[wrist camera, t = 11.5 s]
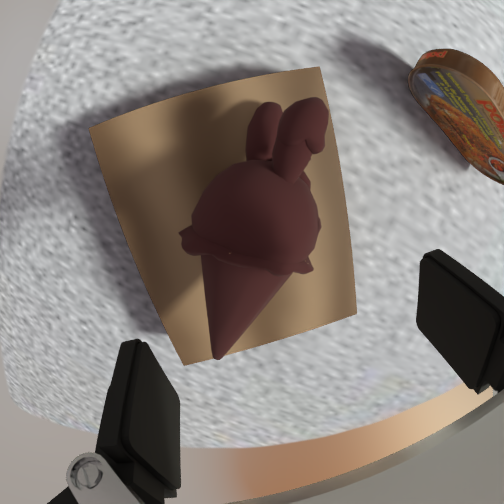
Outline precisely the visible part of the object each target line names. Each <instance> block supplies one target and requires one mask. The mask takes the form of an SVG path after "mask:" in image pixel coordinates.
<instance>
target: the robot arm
mask: <svg viewBox="0 0 504 504" xmlns="http://www.w3.org/2000/svg"><path fill="white" fill-rule="evenodd" d="M416 323H417V326H418V328H419V330H420V331H421V332H422V333H423V334H424V335H425V337H426V338H427V339H428V340H429V341H430V342H431V343H432V345H433V346H434V347H435V348H436V349H437V350H438V352H439V353H440V354H441V355H442V356H443V358H444V359H445V360H446V361H447V362H448V364H449V365H450V366H451V367H452V368H453V370H454V371H455V372H456V373H457V374H458V376H459V377H460V378H461V379H462V381H463V382H464V383H465V384H466V386H467V387H468V388H469V389H474V390H475V392H476V393H477V394H479V393H481V392H483V391H484V390H486V389H487V388H488V387H489V386H491V387H492V388H493V397H492V398H491V399H489V400H488V401H486V402H485V403H483V404H482V405H480V406H479V407H478V408H476V409H474V410H473V411H471V412H469V413H468V414H466V415H465V416H463V417H462V418H460V419H458V420H457V421H455V422H453V423H452V424H450V425H448V426H446V427H445V428H443V429H441V430H439V431H437V432H436V433H434V434H432V435H430V436H428V437H426V438H424V439H422V440H420V441H419V442H417V443H415V444H413V445H410V446H409V447H407V448H404V449H402V450H400V451H398V452H396V453H394V454H391V455H389V456H387V457H385V458H382V459H380V460H378V461H375V462H373V463H370V464H368V465H365V466H363V467H360V468H358V469H355V470H352V471H350V472H347V473H344V474H342V475H339V476H336V477H333V478H330V479H327V480H323V481H321V482H317V483H314V484H310V485H307V486H304V487H300V488H296V489H293V490H289V491H285V492H281V493H277V494H273V495H269V496H264V497H259V498H254V499H249V500H243V501H238V502H232V503H226V504H504V296H502V295H501V294H500V293H499V292H497V291H496V290H495V289H493V288H492V287H491V286H490V285H488V284H487V283H486V282H484V281H483V280H482V279H480V278H479V277H478V276H476V275H475V274H474V273H472V272H471V271H470V270H468V269H467V268H466V267H464V266H463V265H461V264H460V263H459V262H457V261H456V260H454V259H453V258H452V257H450V256H449V255H447V254H446V253H445V252H443V251H442V250H440V249H436V250H433V251H431V252H428V253H425V254H424V256H423V259H422V260H421V261H420V273H419V291H418V305H417V316H416ZM66 480H67V483H68V487H67V488H66V489H64V490H63V491H62V492H61V493H60V494H58V495H57V496H56V497H55V498H53V499H52V500H51V501H50V502H49V503H47V504H164V498H174V497H177V492H176V489H179V488H180V487H181V469H180V400H179V397H178V394H177V393H176V391H175V389H174V388H173V386H172V385H171V383H170V381H169V380H168V378H167V376H166V375H165V373H164V371H163V370H162V368H161V366H160V365H159V363H158V361H157V359H156V358H155V356H154V354H153V352H152V351H151V349H150V347H149V345H148V344H147V343H146V342H142V341H141V340H140V339H134V340H130V341H125V342H122V344H121V346H120V350H119V354H118V357H117V361H116V365H115V369H114V373H113V377H112V381H111V385H110V386H109V389H108V392H107V396H106V401H105V405H104V410H103V414H102V419H101V424H100V429H99V434H98V439H97V444H96V450H95V453H89V452H88V453H84V454H81V455H79V456H78V457H76V458H75V459H74V460H73V461H72V462H71V464H70V465H69V467H68V470H67V473H66Z"/></svg>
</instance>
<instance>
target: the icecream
mask: <svg viewBox="0 0 504 504" xmlns="http://www.w3.org/2000/svg"><path fill="white" fill-rule="evenodd" d="M328 118H329V110H328V109H327V107H326V105H325V103H324V102H323V100H322V99H320V98H318V97H310V98H307V99H303V100H299V101H295V102H294V103H293V104H292V105H290V106H289V107H288V108H287V109H285V110H284V112H283V111H282V108H281V105H279V104H277V103H275V102H264V103H263V104H262V105H260V106H259V107H258V108H257V109H256V111H255V113H254V115H253V117H252V119H251V121H250V123H249V125H248V127H247V137H246V147H245V152H246V161H244V162H240V163H235V164H233V165H231V166H230V167H228V168H227V169H225V170H224V171H222V172H221V173H219V174H218V175H216V176H215V178H214V179H213V180H212V181H211V182H210V183H209V185H208V186H207V187H206V188H205V189H204V191H203V192H202V195H201V197H200V199H199V201H198V203H197V205H196V207H195V209H194V211H193V213H192V215H191V218H192V225H190V226H188V227H187V228H185V229H183V230H181V231H180V232H178V233H179V235H180V236H181V237H182V242H181V245H182V248H183V250H184V251H185V252H186V253H187V254H189V255H192V256H199V255H201V263H202V273H203V282H204V292H205V300H206V309H207V317H208V326H209V334H210V343H211V351H212V357H213V358H214V359H216V360H220V359H221V358H222V357H223V356H224V355H225V354H226V353H227V352H228V351H229V350H230V349H231V347H232V346H233V345H234V344H235V343H236V341H237V340H238V339H239V338H240V337H241V335H242V334H243V333H244V332H245V331H246V330H247V328H248V327H249V326H250V325H251V324H252V322H253V321H254V320H255V319H256V318H257V316H258V315H259V314H260V313H261V311H262V310H263V309H264V308H265V307H266V305H267V304H268V303H269V302H270V300H271V299H272V298H273V297H274V296H275V294H276V293H277V292H278V291H279V289H280V288H281V287H282V286H283V284H284V283H285V282H286V281H287V279H288V278H289V277H290V276H291V274H292V273H293V272H295V273H299V274H307V273H309V272H312V271H313V270H314V268H313V266H312V264H311V261H310V259H309V255H310V253H311V252H312V251H313V250H314V249H315V245H316V241H317V237H318V234H319V232H320V230H321V227H322V226H321V220H320V218H319V215H318V208H317V204H316V202H315V200H314V197H313V195H312V193H311V191H310V189H311V181H310V180H309V178H308V177H307V175H306V173H305V172H304V169H305V168H306V166H307V165H308V162H309V161H310V160H311V156H312V154H318V153H320V152H322V151H323V149H324V147H325V133H326V130H327V126H328Z"/></svg>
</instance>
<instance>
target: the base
mask: <svg viewBox="0 0 504 504" xmlns="http://www.w3.org/2000/svg"><path fill="white" fill-rule="evenodd" d="M310 97H318V98H320V99H322V100H323V102H324V103H325V105H326V107H327V109H328V110H329V118H328V126H327V130H326V133H325V147H324V149H323V151H322V152H320V153H318V154H312V156H311V160H310V161H309V162H308V165H307V166H306V168H305V169H304V172H305V173H306V175H307V177H308V178H309V180H310V181H311V189H310V191H311V193H312V195H313V197H314V200H315V202H316V204H317V208H318V215H319V218H320V220H321V226H322V227H321V230H320V232H319V234H318V237H317V241H316V245H315V249H314V250H313V251H312V252H311V253H310V255H309V259H310V261H311V264H312V266H313V268H314V270H313V271H312V272H309V273H307V274H299V273H295V272H293V273H292V274H291V276H290V277H289V278H288V279H287V281H286V282H285V283H284V284H283V286H282V287H281V288H280V289H279V291H278V292H277V293H276V294H275V296H274V297H273V298H272V299H271V300H270V302H269V303H268V304H267V305H266V307H265V308H264V309H263V310H262V311H261V313H260V314H259V315H258V316H257V318H256V319H255V320H254V321H253V322H252V324H251V325H250V326H249V327H248V328H247V330H246V331H245V332H244V333H243V334H242V335H241V337H240V338H239V339H238V340H237V341H236V343H235V344H234V345H233V346H232V347H231V349H230V350H229V351H228V352H227V353H226V354H225V355H228V354H232V353H236V352H239V351H243V350H247V349H250V348H254V347H257V346H260V345H264V344H267V343H271V342H274V341H277V340H280V339H284V338H287V337H290V336H293V335H296V334H299V333H303V332H306V331H309V330H312V329H315V328H318V327H321V326H324V325H327V324H329V323H332V322H335V321H338V320H341V319H344V318H346V317H349V316H352V315H355V314H357V306H356V292H355V279H354V268H353V257H352V248H351V239H350V230H349V222H348V214H347V207H346V200H345V193H344V186H343V180H342V173H341V167H340V161H339V156H338V150H337V145H336V139H335V134H334V129H333V124H332V119H331V114H330V109H329V105H328V100H327V96H326V91H325V87H324V83H323V78H322V74H321V70H320V67H312V68H304V69H297V70H290V71H284V72H278V73H272V74H267V75H261V76H256V77H251V78H246V79H242V80H237V81H233V82H228V83H224V84H220V85H216V86H212V87H208V88H204V89H200V90H197V91H193V92H189V93H186V94H182V95H179V96H176V97H172V98H169V99H166V100H163V101H160V102H157V103H154V104H151V105H148V106H145V107H142V108H139V109H136V110H133V111H131V112H128V113H125V114H123V115H120V116H117V117H115V118H112V119H110V120H107V121H105V122H102V123H100V124H97V125H95V126H93V127H90V128H89V131H90V135H91V138H92V142H93V145H94V149H95V152H96V155H97V158H98V162H99V165H100V168H101V171H102V174H103V177H104V180H105V183H106V186H107V189H108V192H109V195H110V198H111V201H112V203H113V206H114V209H115V212H116V214H117V217H118V220H119V223H120V225H121V228H122V230H123V233H124V236H125V238H126V241H127V243H128V246H129V248H130V251H131V253H132V256H133V258H134V261H135V263H136V265H137V268H138V270H139V273H140V275H141V277H142V279H143V282H144V284H145V286H146V289H147V291H148V293H149V295H150V298H151V300H152V302H153V304H154V306H155V309H156V311H157V313H158V315H159V317H160V319H161V321H162V323H163V325H164V328H165V330H166V332H167V334H168V336H169V338H170V340H171V342H172V344H173V346H174V348H175V350H176V352H177V354H178V356H179V357H180V359H181V361H182V363H183V365H184V366H185V365H189V364H193V363H197V362H201V361H205V360H209V359H213V357H212V351H211V343H210V334H209V326H208V317H207V309H206V300H205V292H204V282H203V273H202V263H201V255H199V256H192V255H189V254H187V253H186V252H185V251H184V250H183V248H182V245H181V242H182V237H181V236H180V235H179V233H178V232H180V231H181V230H183V229H185V228H187V227H188V226H190V225H192V218H191V215H192V213H193V211H194V209H195V207H196V205H197V203H198V201H199V199H200V197H201V195H202V192H203V191H204V189H205V188H206V187H207V186H208V185H209V183H210V182H211V181H212V180H213V179H214V178H215V176H216V175H218V174H219V173H221V172H222V171H224V170H225V169H227V168H228V167H230V166H231V165H233V164H235V163H240V162H244V161H246V152H245V147H246V137H247V127H248V125H249V123H250V121H251V119H252V117H253V115H254V113H255V111H256V109H257V108H258V107H259V106H260V105H262V104H263V103H264V102H275V103H277V104H279V105H281V108H282V111H283V112H284V110H285V109H287V108H288V107H289V106H290V105H292V104H293V103H294V102H295V101H299V100H303V99H307V98H310ZM225 355H224V356H225Z"/></svg>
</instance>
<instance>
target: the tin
mask: <svg viewBox="0 0 504 504" xmlns="http://www.w3.org/2000/svg"><path fill="white" fill-rule="evenodd" d="M408 84H409V88H410V91H411V93H412V95H413V96H414V98H415V99H416V101H417V102H418V103H419V104H420V106H421V107H422V108H423V109H424V110H425V111H426V112H427V113H428V114H429V115H430V116H431V118H432V119H433V120H434V121H435V122H436V123H437V124H438V126H439V127H440V128H441V129H442V130H443V131H444V133H445V134H446V135H447V136H448V137H449V139H450V140H451V141H452V142H453V144H454V145H455V146H456V147H457V149H458V150H459V151H460V153H461V154H462V155H463V156H464V158H465V159H466V160H467V161H468V162H469V163H470V164H471V165H472V166H473V167H475V168H476V169H477V170H478V171H480V172H481V173H482V174H484V175H485V176H487V177H489V178H490V179H492V180H494V181H496V182H498V183H500V184H502V185H504V87H503V85H502V84H501V82H500V81H499V79H498V78H497V77H496V76H495V74H494V73H493V72H492V71H491V70H490V69H489V68H487V67H486V66H485V65H484V64H483V63H481V62H480V61H478V60H477V59H475V58H473V57H472V56H470V55H468V54H466V53H463V52H460V51H458V50H454V49H435V50H430V51H428V52H426V53H424V54H423V55H422V56H421V57H420V59H419V60H418V62H417V64H416V66H415V68H414V69H413V70H412V71H411V72H410V74H409V76H408Z"/></svg>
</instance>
